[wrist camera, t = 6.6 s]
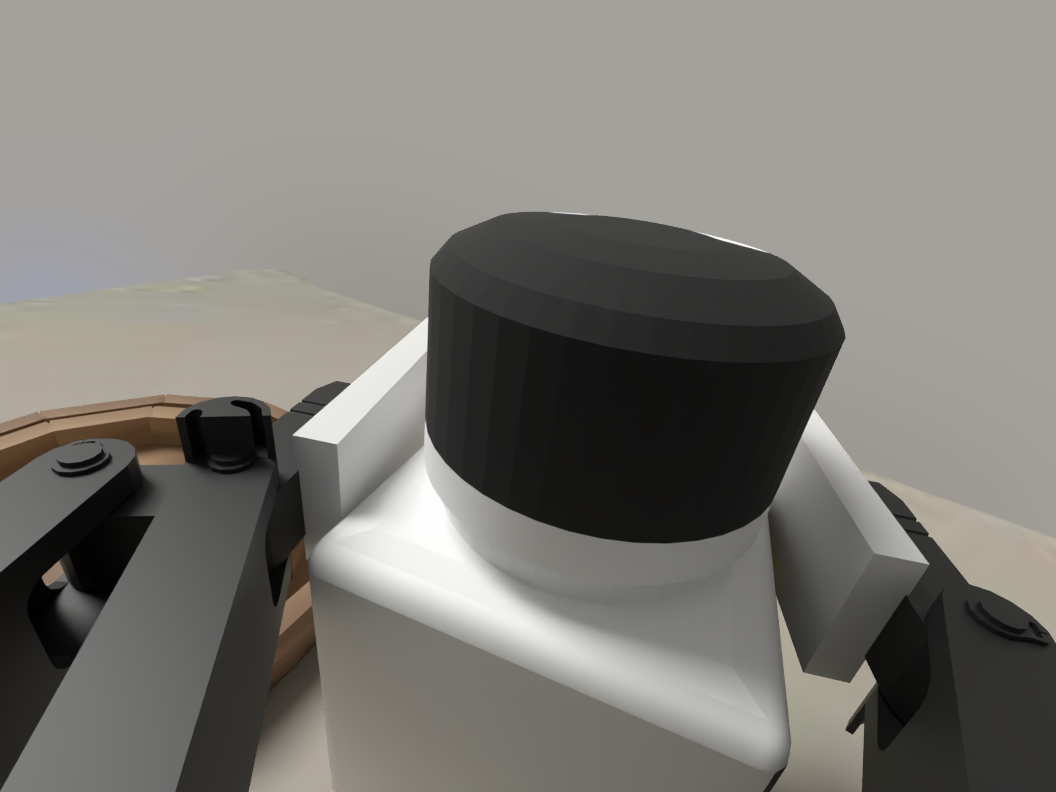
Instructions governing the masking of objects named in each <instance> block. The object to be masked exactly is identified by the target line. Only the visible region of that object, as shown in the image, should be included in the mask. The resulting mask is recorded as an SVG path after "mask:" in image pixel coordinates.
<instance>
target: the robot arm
mask: <svg viewBox="0 0 1056 792" xmlns="http://www.w3.org/2000/svg"><path fill="white" fill-rule="evenodd" d="M427 341H428V317H427V318H426V319H425V320H424V321H423V322H422V323H420V324H419V325H418V326H417V327H416V328H415V329H414V330H412V331H411V332H410V333H409V334H408V335H407V336H406V337H404V338H403V339H402V340H401V341H400V342H399V343H398V344H396V345H395V346H394V347H393V348H392V349H391V350H390V351H388V352H387V353H386V354H385V355H384V356H383V357H382V358H380V359H379V360H378V361H377V362H376V363H375V364H373V365H372V366H371V367H370V368H369V369H368V370H367V371H365V372H364V373H363V374H362V375H361V376H360V377H359V378H357V379H356V380H355V381H354V382H353V383H352V384H350V383H344V382H339V381H336V382H333V383H330V384H328V385H325V386H323V387H320V388H317V389H316V390H314V391H313V392H312V393H310V394H309V395H308V396H307V397H305V398H304V399H303V400H302V403H300V402H299V403H298V404H296V405H295V406H294V407H293V408H291V409H290V412H286V413H285V414H284V415H283V416H281V417H280V418H279V419H277V420H276V421H275V422H274V423H272V417H271V409H270V407H269V406H268V405H267V404H265V403H264V402H263V401H260V400H257V399H254V398H249V397H237V396H233V397H222V398H214V399H211V400H207V401H203V402H199V403H197V404H194V405H192V406H190V407H188V408H186V409H184V410H183V411H182V412H181V413H180V414H178V415H177V416H176V417H175V419H176V423H177V427H178V431H179V436H180V440H181V444H182V448H183V453H184V457H185V461H186V462H185V464H184V465H140V464H139V461H138V457H137V454H136V450H135V447H133V446H132V445H131V444H130V443H128V442H127V441H122V440H118V439H97V438H94V439H86V440H80V441H75V442H71V443H70V444H67V445H64V446H61V447H58V448H55V449H53V450H51V451H49V452H47V453H45V454H43V455H41V456H39V457H37V458H36V459H34V460H33V461H31V462H30V463H28V464H27V465H25V466H24V467H22V468H21V469H19V470H18V471H16V472H15V473H13V474H12V475H10V476H9V477H7V478H6V479H4V480H3V481H1V482H0V792H249V786H250V781H251V776H252V771H253V766H254V761H255V756H256V751H257V745H258V740H259V735H260V730H261V725H262V720H263V715H264V709H265V704H266V699H267V694H268V689H269V684H270V679H271V674H272V668H273V663H274V658H275V653H276V648H277V643H278V638H279V633H280V627H281V622H282V617H283V612H284V607H285V602H286V597H287V591H288V586H289V581H290V576H291V562H290V553H291V552H292V550H293V549H294V548H295V547H296V546H297V544H298V543H299V542H300V541H301V539H302V538H303V537H304V544H305V553H306V560H308V558H309V554H310V552H311V550H312V549H313V547H314V546H315V544H316V543H317V542H319V541H320V540H321V539H322V538H323V537H324V536H325V535H326V534H327V533H328V532H329V531H331V530H332V529H333V528H334V527H335V526H336V525H337V524H338V523H339V522H340V521H342V520H343V519H344V518H345V517H346V516H347V515H348V514H349V513H350V512H351V511H352V510H354V509H355V508H356V507H357V506H358V505H359V504H360V503H361V502H362V501H363V500H365V499H366V498H367V497H368V496H369V495H370V494H371V493H372V492H373V491H374V490H376V489H377V488H378V487H379V486H380V485H381V484H382V483H383V482H384V481H385V480H386V479H388V478H389V477H390V476H391V475H392V474H393V473H394V472H395V471H396V470H397V469H399V468H400V467H401V466H402V465H403V464H404V463H405V462H406V461H407V460H408V459H409V458H411V457H412V456H413V455H414V454H415V453H416V452H417V451H418V450H419V449H420V448H422V447H423V446H424V435H425V403H426V372H427ZM916 519H917V518H916V517H915V516H914V515H913V513H912V512H911V511H910V510H909V508H908V507H907V506H906V505H905V503H904V502H903V501H902V500H901V499H900V498H898V497H897V496H896V495H894V494H893V493H892V492H890V491H889V490H888V489H887V488H885V487H884V486H883V485H881V484H880V483H877V482H872V481H867V480H866V478H865V477H864V476H863V474H862V473H861V472H860V470H859V469H858V468H857V466H856V465H855V464H854V462H853V461H852V460H851V458H850V457H849V456H848V454H847V453H846V451H845V450H844V449H843V447H842V446H841V445H840V443H839V442H838V441H837V440H836V438H835V437H834V435H833V434H832V433H831V431H830V430H829V429H828V427H827V426H826V425H825V423H824V422H823V421H822V419H821V418H820V417H819V415H818V414H817V413H816V411H815V410H813V412H812V414H811V417H810V419H809V421H808V423H807V426H806V428H805V430H804V432H803V435H802V437H801V439H800V441H799V444H798V446H797V448H796V450H795V453H794V455H793V457H792V459H791V462H790V464H789V466H788V468H787V471H786V473H785V475H784V477H783V480H782V482H781V484H780V487H779V489H778V491H777V493H776V496H775V498H774V500H773V502H772V505H771V507H770V509H769V511H768V522H769V532H770V542H771V552H772V561H773V571H774V581H775V591H776V596H777V599H778V602H779V605H780V607H781V610H782V613H783V616H784V619H785V622H786V625H787V627H788V630H789V633H790V636H791V639H792V642H793V645H794V648H795V650H796V653H797V656H798V659H799V662H800V665H801V668H802V670H803V672H804V673H809V674H813V675H817V676H822V677H826V678H831V679H835V680H839V681H844V682H848V683H850V682H851V680H852V679H853V677H854V676H855V674H856V673H857V671H858V670H859V668H860V667H861V665H862V664H863V662H864V661H865V659H866V661H867V663H868V665H869V667H870V669H871V671H872V673H873V675H874V677H875V679H876V681H877V682H876V684H875V685H874V686H873V688H872V689H871V691H870V692H869V693H868V695H867V696H866V698H865V699H864V700H863V702H862V703H861V705H860V706H859V707H858V709H857V710H856V712H855V713H854V714H853V716H852V717H851V719H850V720H849V722H848V725H847V727H846V731H848V732H849V733H851V734H854V732H855V731H856V730H857V728H858V727H859V726H860V724H863V723H864V750H863V778H862V792H1056V643H1055V641H1054V640H1053V638H1052V637H1051V635H1050V634H1049V632H1048V631H1047V630H1046V629H1045V628H1044V627H1043V626H1042V625H1041V624H1040V623H1039V622H1038V621H1036V620H1035V619H1034V618H1033V617H1032V616H1031V615H1030V614H1028V613H1027V612H1025V611H1024V610H1022V609H1021V608H1019V607H1018V606H1016V605H1015V604H1014V603H1012V602H1010V601H1008V600H1006V599H1005V598H1003V597H1001V596H999V595H997V594H995V593H993V592H991V591H988V590H985V589H982V588H979V587H976V586H973V585H969V583H968V582H967V581H966V580H965V578H964V577H963V576H962V575H961V573H960V572H959V571H958V570H957V568H956V567H955V566H954V565H953V563H952V562H951V561H950V560H949V558H948V557H947V556H946V555H945V553H944V552H943V551H942V550H941V548H940V547H939V546H938V545H937V543H936V542H935V541H934V540H933V538H931V537H928V535H929V533H928V532H927V531H926V530H925V528H924V527H923V526H922V525H921V523H920V522H916ZM58 561H60V564H61V566H62V568H63V571H64V573H63V574H62V575H61V576H60V577H59V578H58V579H57V580H56V581H55V582H53V583H52V584H50V585H49V586H46V585H45V584H44V581H43V579H42V576H43V575H44V574H45V573H46V572H47V571H48V570H49V569H51V568H52V567H53V566H54V565H55V564H56V563H57V562H58Z"/></svg>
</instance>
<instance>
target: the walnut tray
mask: <svg viewBox="0 0 1056 792" xmlns="http://www.w3.org/2000/svg"><path fill="white" fill-rule="evenodd" d="M211 399H214V398H205V397H192V396H179V395H166V396H165V395H159V396H151V397H144V398H136V399H129V400H121V401H114V402H106V403H99V404H91V405H84V406H76V407H69V408H61V409H54V410H46V411H40V413H38V412H36V413H32V414H29V415H26V416H23V417H20V418H17V419H14V420H11V421H7V422H4V423H1V424H0V482H1V481H3V480H4V479H6V478H7V477H9V476H10V475H12V474H13V473H15V472H16V471H18V470H19V469H21V468H22V467H24V466H25V465H27V464H28V463H30V462H31V461H33V460H34V459H36V458H37V457H39V456H41V455H43V454H45V453H47V452H49V451H51V450H53V449H55V448H58V447H61V446H64V445H67V444H70V443H71V442H75V441H80V440H86V439H94V438H97V439H118V440H122V441H127V442H128V443H130V444H131V445H132V446H133V447H135V450H136V454H137V457H138V461H139V464H140V465H184V464H185V462H186V461H185V457H184V453H183V448H182V444H181V440H180V436H179V431H178V427H177V423H176V419H175V417H176V416H177V415H178V414H180V413H181V412H182V411H183V410H184V409H186V408H188V407H190V406H192V405H194V404H197V403H199V402H203V401H207V400H211ZM265 404H267V405H268V406H269V407H270V409H271V417H272V423H274V422H275V421H276V420H277V419H279V418H280V417H281V416H283V415H284V414H285V413H286V412H288V411H286V410H283V409H281V408H278V407H276V406H274V405H271V404H269V403H267V402H266V403H265ZM290 562H291V576H290V581H289V586H288V591H287V597H286V602H285V607H284V612H283V617H282V622H281V627H280V633H279V638H278V643H277V648H276V653H275V658H274V663H273V668H272V674H271V679H270V684H269V689H268V691H269V690H270V689H271V688H272V687H273V686H274V685H275V684H276V683H277V682H278V681H279V680H281V679H282V678H283V677H284V676H285V675H286V674H287V673H288V672H289V671H290V670H291V669H292V668H294V667H295V666H296V664H297V663H298V662H299V661H300V660H301V659H302V658H303V657H304V655H305V654H306V653H307V652H308V651H309V650H310V649H311V647H312V646H313V645H314V644H315V643H316V635H315V626H314V617H313V608H312V599H311V590H310V581H309V572H308V560H306V553H305V544H304V537H303V538H302V539H301V541H300V542H299V543H298V544H297V546H296V547H295V548H294V549H293V550H292V552H291V553H290ZM63 573H64V571H63V568H62V566H61V564H60V561H58V562H57V563H56V564H55V565H54V566H53V567H52V568H51V569H49V570H48V571H47V572H46V573H45V574H44V575H43V576H42V579H43V581H44V584H45V585H46V586H49V585H50V584H52V583H53V582H55V581H56V580H57V579H58V578H59V577H60V576H61V575H62V574H63Z"/></svg>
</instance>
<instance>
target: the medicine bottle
mask: <svg viewBox="0 0 1056 792" xmlns="http://www.w3.org/2000/svg"><path fill="white" fill-rule="evenodd" d="M428 311H429V313H428V341H427V372H426V403H425V435H424V446H423V447H422V448H420V449H419V450H418V451H417V452H416V453H415V454H414V455H413V456H412V457H411V458H409V459H408V460H407V461H406V462H405V463H404V464H403V465H402V466H401V467H400V468H399V469H397V470H396V471H395V472H394V473H393V474H392V475H391V476H390V477H389V478H388V479H386V480H385V481H384V482H383V483H382V484H381V485H380V486H379V487H378V488H377V489H376V490H374V491H373V492H372V493H371V494H370V495H369V496H368V497H367V498H366V499H365V500H363V501H362V502H361V503H360V504H359V505H358V506H357V507H356V508H355V509H354V510H352V511H351V512H350V513H349V514H348V515H347V516H346V517H345V518H344V519H343V520H342V521H340V522H339V523H338V524H337V525H336V526H335V527H334V528H333V529H332V530H331V531H329V532H328V533H327V534H326V535H325V536H324V537H323V538H322V539H321V540H320V541H319V542H317V543H316V544H315V546H314V547H313V549H312V550H311V552H310V554H309V558H308V572H309V581H310V590H311V599H312V608H313V617H314V626H315V635H316V644H317V653H318V662H319V671H320V680H321V689H322V698H323V707H324V716H325V725H326V734H327V743H328V752H329V761H330V770H331V779H332V788H333V789H334V790H335V791H336V792H770V791H771V789H772V788H773V786H774V785H775V783H776V782H777V780H778V779H779V777H780V776H781V774H782V773H783V771H784V770H785V768H786V767H787V763H788V758H789V753H790V746H791V738H790V728H789V718H788V708H787V699H786V689H785V679H784V669H783V659H782V650H781V640H780V630H779V620H778V610H777V601H776V591H775V581H774V571H773V561H772V552H771V542H770V532H769V522H768V511H769V509H770V507H771V505H772V502H773V500H774V498H775V496H776V493H777V491H778V489H779V487H780V484H781V482H782V480H783V477H784V475H785V473H786V471H787V468H788V466H789V464H790V462H791V459H792V457H793V455H794V453H795V450H796V448H797V446H798V444H799V441H800V439H801V437H802V435H803V432H804V430H805V428H806V426H807V423H808V421H809V419H810V417H811V414H812V412H813V410H814V408H815V405H816V403H817V401H818V398H819V396H820V394H821V392H822V389H823V387H824V385H825V382H826V380H827V378H828V376H829V373H830V371H831V369H832V367H833V365H834V362H835V360H836V358H837V356H838V353H839V351H840V349H841V347H842V344H843V342H844V340H845V332H844V328H843V325H842V323H841V320H840V318H839V315H838V312H837V310H836V307H835V304H834V302H833V301H832V300H831V299H830V297H829V296H828V295H827V294H825V293H824V292H823V291H822V290H821V289H819V288H818V287H817V286H816V285H815V284H813V283H812V282H811V281H810V280H808V279H807V278H806V277H805V276H803V275H802V274H801V273H800V272H799V271H798V270H796V269H795V268H794V267H793V266H791V265H790V264H789V263H788V262H786V261H784V260H783V259H781V258H779V257H777V256H774V255H772V254H770V253H768V252H765V251H762V250H760V249H757V248H754V247H751V246H748V245H744V244H741V243H738V242H734V241H731V240H727V239H723V238H719V237H715V236H711V235H707V234H703V233H699V232H694V231H690V230H686V229H682V228H677V227H673V226H668V225H663V224H658V223H652V222H646V221H640V220H633V219H626V218H618V217H609V216H598V215H585V214H574V213H559V212H519V213H510V214H504V215H500V216H497V217H495V218H492V219H490V220H487V221H485V222H482V223H479V224H477V225H474V226H472V227H469V228H467V229H464V230H462V231H459V232H457V233H455V234H454V235H452V236H451V237H450V239H449V240H448V241H447V242H446V243H445V244H444V245H443V246H442V248H441V249H440V250H439V251H438V252H437V253H436V255H435V256H434V257H433V258H432V259H431V263H430V279H429V309H428Z"/></svg>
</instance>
